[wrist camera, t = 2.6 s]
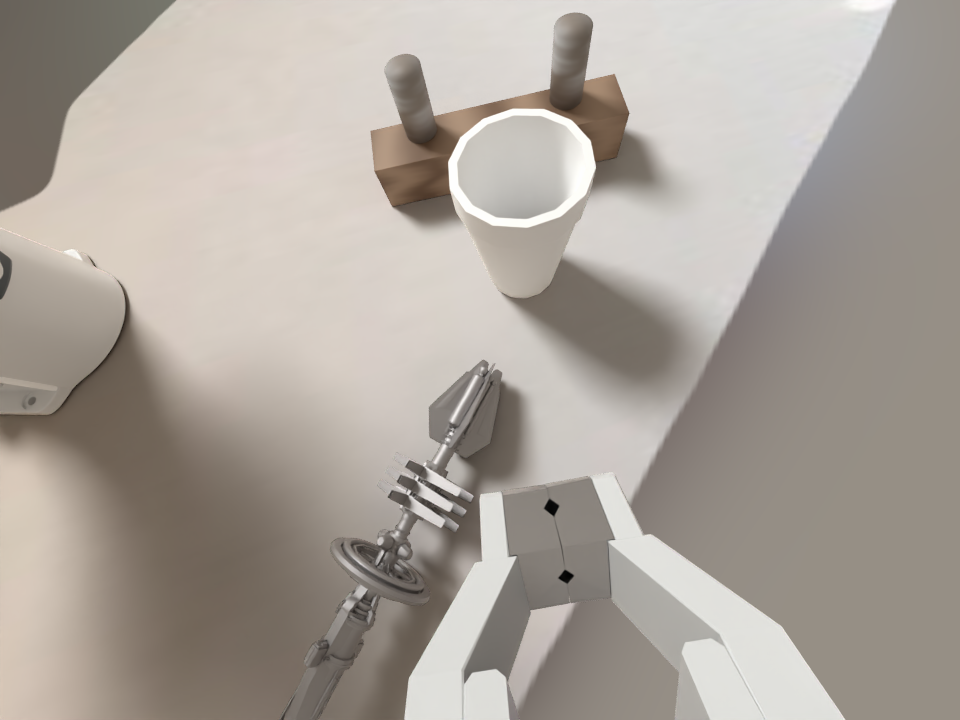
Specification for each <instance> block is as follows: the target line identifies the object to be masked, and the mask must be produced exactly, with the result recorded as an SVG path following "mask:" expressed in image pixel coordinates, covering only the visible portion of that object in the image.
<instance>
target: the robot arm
mask: <svg viewBox="0 0 960 720" xmlns="http://www.w3.org/2000/svg"><path fill="white" fill-rule="evenodd" d="M124 316H125V297H124V293H123V290H122V288H121V286H120V284H119V283H118V281H117V280H116V279H115V278H114V277H113V276H111V275H110V274H109V273H107V272H105V271H102V270H100V269H98V268H96V267H95V266H94V265H93V264H92V262H91V260H90V259H89V257H88V256H87V255H86V254H85V253H82V252H80V251H77V250H75V249H69V250H66V251H63V252H61V251H58V250H56V249H53V248H51V247H48V246H46V245H43V244H41V243H38V242H36V241H33V240H31V239H28V238H26V237H23V236H21V235H18V234H16V233H13V232H11V231H8V230H6V229H3V228H1V227H0V414H16V415H49V414H52V413H53V412H55V411H56V410H57V409H58V408H59V407H60V406H61V405H62V403H63V402H64V401H65V399H66V398H67V396H68V395H69V394H70V392H71V391H72V389H73V388H74V387H75V386H76V385H77V384H78V383H79V382H80V381H81V380H83V379H84V378H85V377H86V376H88V375H89V374H90V373H91V372H92V371H93V370H94V369H95V368H96V367H97V366H98V365H99V364H100V363H101V362H102V361H103V360H104V359H105V357H106V356H107V355H108V353H109V352H110V350H111V349H112V347H113V346H114V344H115V342H116V340H117V338H118V336H119V334H120V331H121V328H122V325H123V321H124ZM479 501H480V525H481V549H482V561H481V562H475V564H474V566H473V567H472V569H471V571H470V573H469V574H468V576H467V578H466V580H465V581H464V583H463V585H462V587H461V588H460V590H459V592H458V594H457V595H456V597H455V599H454V600H453V602H452V604H451V606H450V607H449V609H448V611H447V613H446V614H445V616H444V618H443V620H442V621H441V623H440V625H439V627H438V628H437V630H436V632H435V634H434V635H433V637H432V639H431V641H430V642H429V644H428V646H427V648H426V649H425V651H424V653H423V655H422V656H421V658H420V660H419V662H418V663H417V665H416V667H415V669H414V670H413V672H412V674H411V676H410V677H409V681H408V690H407V699H406V708H405V717H404V720H520V718H519V715H518V712H517V709H516V706H515V703H514V700H513V697H512V694H511V691H510V688H509V685H508V679H509V676H510V673H511V670H512V667H513V664H514V661H515V658H516V655H517V652H518V649H519V646H520V644H521V641H522V638H523V635H524V632H525V629H526V626H527V623H528V620H529V617H530V614H531V612H530V610H535V609H541V608H546V607H551V606H557V605H562V604H568V603H575V602H583V601H591V600H600V599H608V598H612V601H613V602H614V603H615V604H616V605H617V606H618V607H619V609H620V610H621V611H622V612H623V613H624V614H625V615H626V616H627V617H628V618H629V619H630V620H631V621H632V623H633V624H634V625H635V626H636V627H637V628H638V629H639V630H640V631H641V632H642V633H643V634H644V635H645V636H646V638H647V639H648V640H649V641H650V642H651V643H652V644H653V645H654V646H655V647H656V648H657V649H658V650H659V652H660V653H662V655H663V656H664V657H665V658H666V659H667V660H668V661H669V662H670V663H671V664H672V665H673V667H674V668H675V669H676V670H677V671H678V672H679V682H678V692H677V701H676V711H675V720H845V719H844V717H843V716H842V714H841V713H840V711H839V710H838V708H837V707H836V706H835V704H834V703H833V701H832V700H831V698H830V697H829V695H828V694H827V692H826V691H825V689H824V688H823V686H822V685H821V684H820V682H819V681H818V679H817V678H816V676H815V675H814V673H813V672H812V670H811V669H810V667H809V666H808V665H807V663H806V662H805V660H804V659H803V657H802V656H801V655H800V653H799V651H798V650H797V649H796V647H795V645H794V644H793V643H792V641H791V640H790V638H789V637H788V635H787V634H786V633H785V631H784V630H783V628H782V627H781V626H780V625H779V624H777V623H776V622H774V621H773V620H772V619H770V618H769V617H768V616H766V615H765V614H763V613H762V612H760V611H759V610H758V609H756V608H755V607H753V606H752V605H751V604H749V603H748V602H746V601H745V600H744V599H742V598H741V597H739V596H738V595H736V594H735V593H734V592H732V591H731V590H729V589H728V588H727V587H725V586H724V585H722V584H721V583H720V582H718V581H717V580H715V579H714V578H712V577H711V576H710V575H708V574H707V573H705V572H704V571H703V570H701V569H700V568H698V567H697V566H696V565H694V564H693V563H691V562H690V561H689V560H687V559H686V558H684V557H683V556H682V555H680V554H679V553H677V552H676V551H674V550H673V549H671V548H670V547H669V546H667V545H666V544H665V543H663V542H662V541H660V540H659V539H658V538H656V537H655V536H653V535H652V534H649V535H644V534H643V532H642V530H641V528H640V526H639V524H638V522H637V520H636V518H635V516H634V513H633V511H632V509H631V507H630V505H629V503H628V501H627V499H626V497H625V495H624V493H623V491H622V489H621V487H620V485H619V483H618V480H617V478H616V476H615V475H614V474H613V473H612V472H609V473H603V474H597V475H592V476H589V477H588V476H585V477H580V478H575V479H569V480H564V481H558V482H553V483H547V484H545V485H538V486H531V487H524V488H517V489H510V490H504V491H503V492H502V491H499V492H492V493H486V494H481V495H480V500H479ZM569 599H570V601H569Z"/></svg>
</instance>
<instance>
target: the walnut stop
mask: <svg viewBox="0 0 960 720" xmlns="http://www.w3.org/2000/svg"><path fill="white" fill-rule="evenodd" d="M592 29H593V22H592V20H591V18H590V17H588V16H587V15H585V14H582V13H569V14H566V15H564V16H562V17H560V18H559V19H558V20H557V21H556V23H555V26H554V39H553V54H552V69H551V84H550V89H548V90H544V91H540V92H536V93H531V94H527V95H523V96H519V97H514V98H510V99H506V100H501V101H497V102H493V103H489V104H484V105H480V106H476V107H471V108H467V109H463V110H459V111H454V112H450V113H446V114H441V115H437V116H434V115H433V111H432V107H431V103H430V99H429V95H428V92H427V88H426V84H425V80H424V76H423V72H422V68H421V64H420V61H419V59H418V58H417V57H416V56H414V55H410V54H402V55H398V56H396V57H394V58H392V59H391V60H390V61H389V62H388V63H387V64H386V66H385V75H386V78H387V81H388V84H389V87H390V89H391V92H392V95H393V98H394V101H395V104H396V106H397V109H398V112H399V115H400V118H401V121H402V124H399V125H394V126H390V127H386V128H382V129H377V130H373V131H371V140H372V150H373V160H374V171H375V173H376V175H377V177H378V179H379V181H380V183H381V185H382V187H383V189H384V191H385V193H386V195H387V197H388V199H389V201H390V203H391V205H392V207H393V206H397V205H402V204H406V203H411V202H415V201H420V200H425V199H429V198H434V197H438V196H443V195H447V194H451V192H450V186H449V168H448V162H449V159H450V157H451V155H452V153H453V151H454V149H455V147H456V145H457V143H458V141H459V139H460V137H462V136H463V135H464V134H465V133H466V132H468V131H469V130H470V129H471V128H473V127H474V126H475V125H476V124H477V123H479V122H480V121H481V120H482V119H484V118H487V117H490V116H493V115H496V114H498V113H501V112H504V111H507V110H510V109H545V110H548V111H550V112H553V113H555V114H558V115H560V116H563V117H565V118H568V119H570V120H572V121H573V122H574V123H575V124H576V125H577V126H578V127H579V129H580V130H581V131H582V132H583V133H584V134H585V135H586V136H587V137H588V138H589V139H590V141H591V145H592V150H593V155H594V160H595V162H597V161H602V160H606V159H611V158H615V157H617V154H618V151H619V147H620V144H621V140H622V137H623V134H624V130H625V127H626V123H627V120H628V116H629V111H628V108H627V106H626V103H625V100H624V98H623V95H622V92H621V90H620V87H619V85H618V82H617V79H616V77H615V74H613V75H608V76H604V77H600V78H596V79H591V80H587V81H585V75H586V68H587V62H588V55H589V48H590V42H591V35H592Z"/></svg>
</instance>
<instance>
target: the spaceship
mask: <svg viewBox="0 0 960 720" xmlns="http://www.w3.org/2000/svg"><path fill="white" fill-rule="evenodd" d="M488 365H489V364H488V362H486V361H485V360H482V361H481V362H480V363H478V364H477V365H476V366H475V367H474V368H473V369H472V370H471V371H470V372H466V373H465V374H464V375H463V376H462V377H461V378H459V379H458V380H457V381H456V382H455V383H454V384H453V385H452V386H451V387H450V388H449V389H448V390H447V391H446V392H445V393H443V394H442V395H441V396H440V397H439V398H438V399H437V400H436V401H435V402H434V403H433V404H432V405H431V406H430V407H429V436H430V438H432V439H433V440H435V441H437V442H439V443H440V444H441V445H440V447H439V449H438V451H437V453H436V455H435V457H434V458H433V459H432V461H431V462H430V461H428V460H427V462H424V464H423V465H422V464H420V463H418V462H416V461H414V460H412V459H409V458H407V457H405V456H403V455H401V454H399V453H396V454H395V456H394V457H393V459H394V460H395V461H397V462H398V463H400V464H401V465H403V466H404V467H406V468H407V469H408V470H410V471H411V472H413V473H414V475H415V476H414V478H413V477H411V476H409V475H407V474H406V473H402V472H401V471H399V470H397V469H395V468H393V467H391V466H388V468H387V469H386V471H385V472H386V473H387V474H388V475H390V476H391V477H392V478H394V479H395V480H396V481H397V483H399V484H401V485H402V486H404V487H406V488H407V490H404V489H402V488H400V487H399V486H396V487H394V486H393V485H391V484H389V483H388V482H386V481H384V480H383V479H380V481H379V483H378V484H377V486H378V487H380V488H381V489H382V490H383V491H384V492H386V493H387V494H388V498H390V499H391V500H393V501H395V502H397V503H399V504H401V505H400V506H399V507H400V509H401V510H402V511H403V512H404V513H403V515H402V518H401V520H400V522H399V523H398V525H396V527H395V528H396V529H395V530H394V531H388V530H385V529H384V530H381V531H380V532H379V533H378V540H377V545H378V546H377V545H375V544H373V543H370V542H368V541H365V540H361V539H357V538H337V539H336V540H334V541H333V542H332V543H331V547H330V552H331V554H332V556H333V558H334V559H335V561H336V562H337V563H338V564H339V565H340V566H341V567H342V568H343V569H344V570H345V571H346V572H347V573H348V574H349V575H350V577H351V578H353V579H354V580H355V581H356V582H358V583H359V585H358V586H357V587H356V589H355V590H354V591H353V592H350V593H349V594H348V595H347V597H346V598H345V599H344V600H343V601H342V602H341V603H340V604H339V605H338V607H337V609H336V612H337V616H336V618H335V620H334V622H333V623H332V625H331V627H330V629H329V630H328V632H327V634H326V636H323V637H322V638H321V639H320V640H318V641H317V642H315V643H313V644H312V646H311V647H310V649H309V651H308V653H307V655H306V656H305V658H304V660H305V661H304V664H305V665H306V666H307V667H308V668H307V670H306V671H305V673H304V675H303V677H302V679H301V682H300V684H299V686H298V687H297V689H296V691H295V692H294V694H293V696H292V697H291V699H290V701H289V702H288V704H287V706H286V708H285V709H284V711H283V713H282V715H281V716H280V718H279V720H318V719H319V717H320V715H321V714H322V712H323V710H324V708H325V706H326V704H327V702H328V701H329V699H330V697H331V695H332V693H333V691H334V689H335V688H336V686H337V684H338V682H339V680H340V678H341V676H342V674H343V672H344V671H345V670H347V669H349V668H350V666H352V664H353V662H354V659H355V658H357V656H358V654H359V652H360V650H361V648H362V647H363V645H364V643H363V642H364V641H363V640H362V639H361V638H362V636H363V634H364V632H365V631H368V630H370V628H371V627H372V626H373V625H374V621H375V615H376V613H375V612H376V609H377V606H378V601H379V599H380V596H382V597H384V598H386V599H389V600H393V601H398V602H401V603H404V604H408V605H414V606H421V605H424V604H425V603H427V602H428V601H429V599H430V590H429V588H428V586H427V585H426V584H425V582H424V581H423V579H422V577H421V576H420V575H419V573H418V572H417V571H416V570H415V569H413V568H412V567H411V566H410V565H409V564H407V563H406V562H405V561H403V560H409V559H410V558H411V557H412V555H413V552H412V549H411V544H410V542H409V541H408V540H407V536H408V535H409V534H410V530H411V529H412V527H413V525H414V524H415V523H416V521H417V519H420V520H423V519H426V520H428V521H429V522H431V523H433V524H434V525H436V526H438V527H440V528H442V526H445V527H446V528H448V529H449V530H451V531H453V532H454V533H456V531H457V529H458V527H459V525H458V524H457V523H455V522H454V521H453V520H451V519H450V518H448V517H447V516H446V515H444V514H443V513H442V512H440V510H439V509H437V508H436V507H434V506H433V505H434V504H435V505H437V506H439V507H441V508H443V509H444V510H446V511H448V512H450V511H452V512H453V513H455V514H457V515H459V516H460V517H464V515H465V513H466V510H465V509H464V508H462V507H461V506H459V505H458V504H457V503H455V502H454V501H452V500H451V499H449V498H448V497H446V496H445V495H443V494H442V493H440V492H441V490H443V489H444V490H446V491H448V492H449V493H451V494H453V495H455V496H457V497H459V498H461V499H463V500H465V501H467V502H469V503H471V501H472V499H473V497H474V496H473V495H472V494H470V493H469V492H467V491H465V490H464V489H462V488H461V487H459V486H458V485H456V484H454V483H453V482H451V481H450V480H448V479H446V476H447V473H448V471H446V470H445V468H446V466H447V464H448V462H449V460H450V458H451V457H452V455H453V453H454V452H455V453H457V454H459V455H461V456H462V457H464V458H467V457H469V456H471V455H472V454H474V453H475V452H477V451H479V450H480V449H482V448H483V447H485V446H487V445H488V444H490V441H491V436H492V431H493V426H494V421H495V416H496V411H497V406H498V401H499V396H500V392H499V388H500V382H501V377H502V372H501V371H499V370H495V371H494V372H493V373H492V374H491V372H492V370H493V368H494V366H495V364H493V365H492V367H491V368H490V370H489V371H488ZM415 477H416V478H415ZM408 489H409V490H408ZM440 489H441V490H440ZM439 490H440V491H439ZM432 503H433V505H432ZM402 559H403V560H402Z"/></svg>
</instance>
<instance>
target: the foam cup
mask: <svg viewBox="0 0 960 720" xmlns="http://www.w3.org/2000/svg"><path fill="white" fill-rule="evenodd" d="M448 168H449V186H450V192H451V195H452V199H453V203H454V207H455V210H456V213H457V214H458V216H459V217H460V219H461V220H462V222H463V223H464V225H465V226H466V228H467V230H468V232H469V234H470V237H471V239H472V241H473V243H474V245H475V247H476V249H477V251H478V254H479V256H480V258H481V260H482V262H483V264H484V266H485V268H486V271H487V273H488V275H489V277H490V278H491V280H492V282H493V283H494V285H495V286H496V288H497V289H498V290H499V291H500V292H502V293H504V294H506V295H507V296H509V297H513V298H529V297H532V296H535V295H538V294H540V293H541V292H542V291H543V290H544V289H545V288H547V287H548V286H549V285H550V283H551V281H552V279H553V277H554V274H555V272H556V269H557V267H558V265H559V262H560V260H561V257H562V255H563V252H564V250H565V248H566V245H567V243H568V240H569V238H570V236H571V233H572V231H573V228H574V226H575V224H576V223H577V222H578V221H579V220H580V219H581V216H582V214H583V211H584V208H585V206H586V203H587V200H588V198H589V195H590V191H591V187H592V183H593V178H594V174H595V170H596V165H595V160H594V155H593V150H592V145H591V141H590V139H589V138H588V137H587V136H586V135H585V134H584V133H583V132H582V131H581V130H580V129H579V127H578V126H577V125H576V124H575V123H574V122H573V121H572V120H570V119H568V118H565V117H563V116H560V115H558V114H555V113H553V112H550V111H548V110H545V109H510V110H507V111H504V112H501V113H498V114H496V115H493V116H490V117H487V118H484V119H482V120H481V121H480V122H479V123H477V124H476V125H475V126H474V127H473V128H471V129H470V130H469V131H468V132H466V133H465V134H464V135H463V136H462V137H460V139H459V141H458V143H457V145H456V147H455V149H454V151H453V153H452V155H451V157H450V159H449V162H448Z"/></svg>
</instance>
